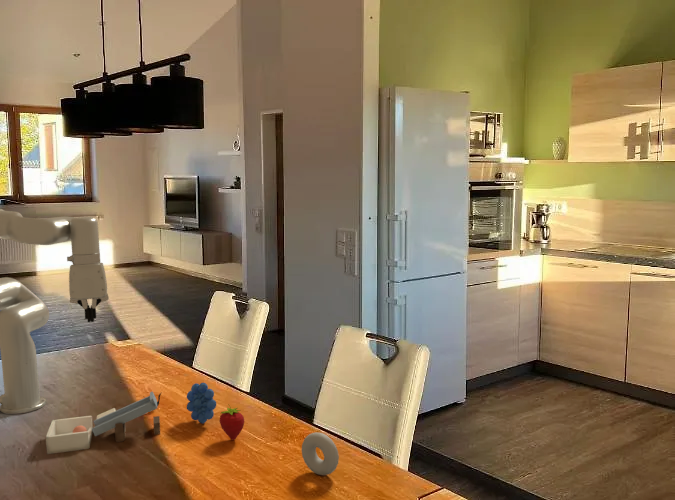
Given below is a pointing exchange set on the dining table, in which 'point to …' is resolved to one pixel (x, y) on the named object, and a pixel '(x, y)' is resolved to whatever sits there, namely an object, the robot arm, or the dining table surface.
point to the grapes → (201, 402)
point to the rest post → (156, 425)
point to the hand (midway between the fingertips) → (91, 321)
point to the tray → (69, 435)
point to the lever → (124, 414)
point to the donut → (326, 447)
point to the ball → (79, 429)
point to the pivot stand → (120, 432)
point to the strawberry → (232, 422)
